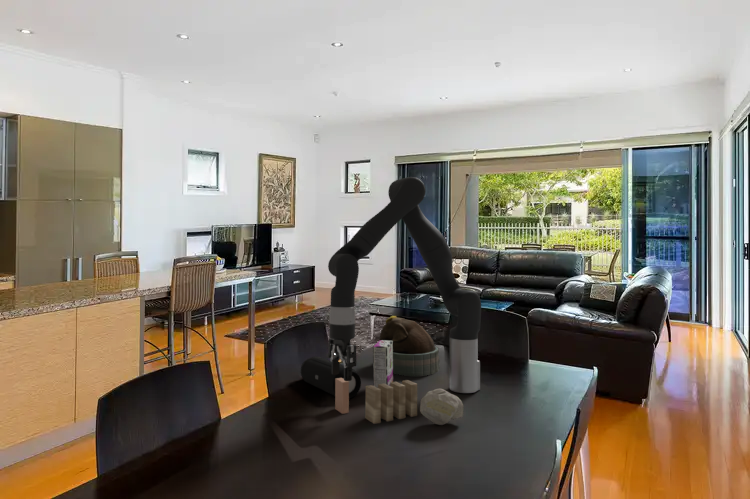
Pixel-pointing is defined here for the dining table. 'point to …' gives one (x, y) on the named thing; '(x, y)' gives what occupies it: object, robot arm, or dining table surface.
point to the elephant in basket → (410, 348)
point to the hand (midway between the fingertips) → (341, 377)
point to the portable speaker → (327, 375)
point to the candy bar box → (383, 362)
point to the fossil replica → (441, 406)
